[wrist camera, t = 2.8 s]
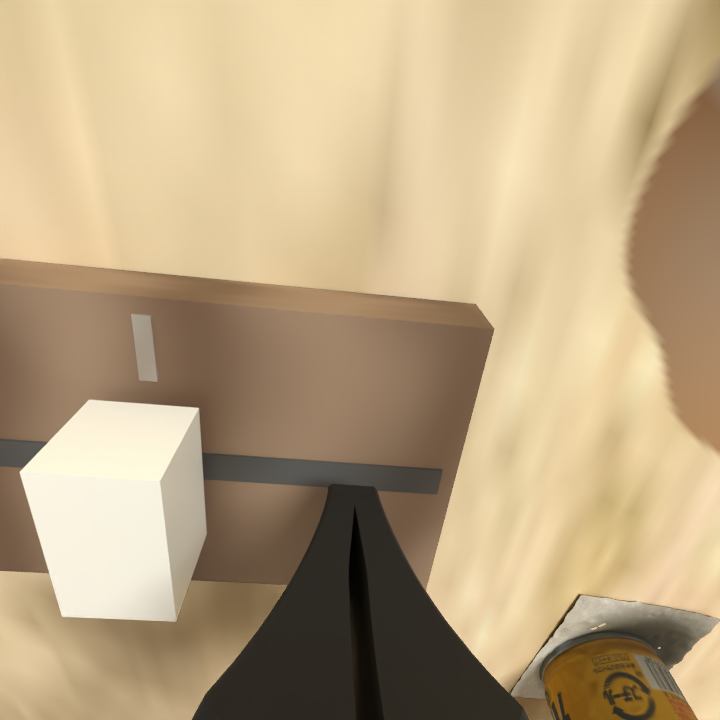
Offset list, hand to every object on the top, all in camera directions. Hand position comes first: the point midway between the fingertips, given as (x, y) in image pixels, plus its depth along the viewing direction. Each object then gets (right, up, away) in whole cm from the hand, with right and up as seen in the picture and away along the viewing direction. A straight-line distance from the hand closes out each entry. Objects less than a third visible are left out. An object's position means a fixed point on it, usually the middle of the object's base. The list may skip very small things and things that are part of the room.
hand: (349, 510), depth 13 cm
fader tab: (-6, +1, +1) cm, 6 cm away
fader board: (-6, +2, +3) cm, 7 cm away
